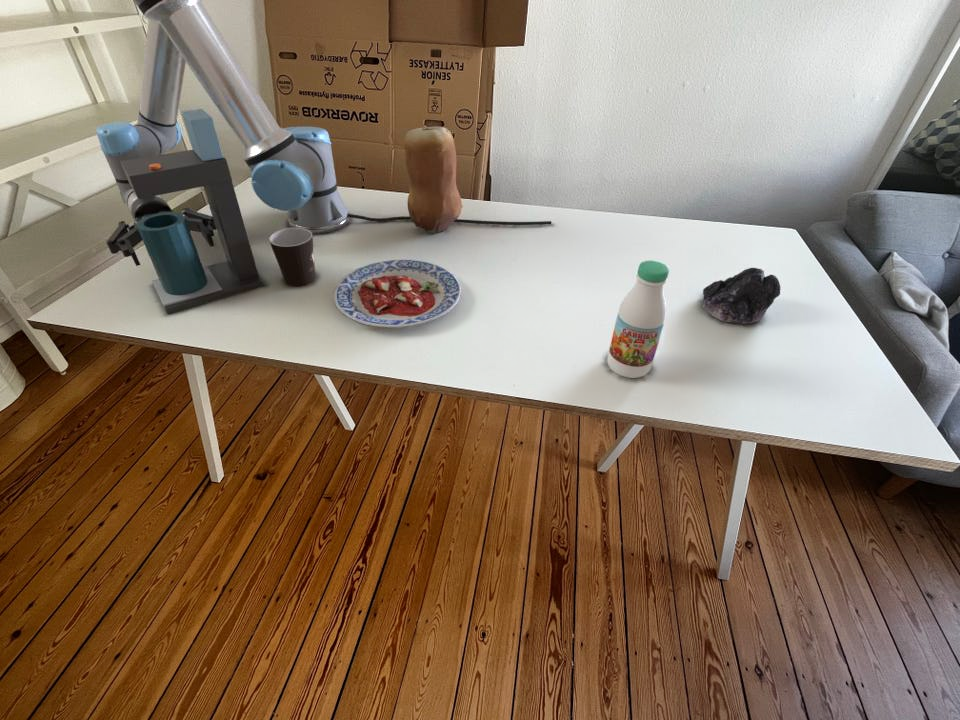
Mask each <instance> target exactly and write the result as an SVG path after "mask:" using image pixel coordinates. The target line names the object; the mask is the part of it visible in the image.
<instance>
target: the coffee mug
mask: <svg viewBox="0 0 960 720" xmlns="http://www.w3.org/2000/svg"><path fill="white" fill-rule="evenodd" d="M268 242H269V244H270V247H271V249H272V252H273V255H274V257H275V260H276V262H277V265H278V267H279V270H280V273H281V275H282V277H283V278H282V279H283V280H284V282H285V284H286V285H288V286H289V287H293V288H295V287H296V288H299V287H305V286H308V285H310V284H313V282H315V280H316V268H315V267H316V266H315V251H314V236H313V234H312V233H311V231H309V230H307V229H304V228H291V227H287V228H282V229H279V230H277V231H275V232H273V233H272V234H271V235H270V236H269V237H268Z"/></svg>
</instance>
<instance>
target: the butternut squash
mask: <svg viewBox="0 0 960 720" xmlns="http://www.w3.org/2000/svg"><path fill="white" fill-rule="evenodd" d="M454 140H455V139H454V137H453V135H452V133H451V131H450V130H449V129H447V128H446V127H444V126H438V125H437V126H436V125H435V126H427V127H415V128H413V129H410V130H408V132H406V134H405V136H404V145H403V146H404V154H405V155H404V156H405V166H406V171H407V174H408V177H409V180H410V182H409V183H410V187H409V191H408V192H409V193H408V196H407V201H406V202H407V212H408V216H410V218H411V219H412V220H411V221H412V223H414V225H415V227H416V228H419V229H422V230H423V231H425V232H426V233H432V234H433V233H434V234H436V233H443V232H445V231H446V230H447V229H448V228H449V227H450V226H451V225H452V224H453V223H455V222H454V221H455V220H456V219H459V217H460V215H461V213H462V209H463V208H464V207H463V204H462V203H463V202H462V197H461V195H460V192H459V190H458V187H457V152H456V146H455V141H454Z"/></svg>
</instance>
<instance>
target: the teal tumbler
mask: <svg viewBox="0 0 960 720" xmlns="http://www.w3.org/2000/svg"><path fill="white" fill-rule="evenodd" d="M175 212H176V211H173V212H164V213H158V214H153V215H150V216H147V217H145V218H143V219H141V220H140V221H139V222H138V223H137V228H138V230H139V233H140V235H141V237H142V243H143V245H144V247H145V250H146V252H147V253H148V256H149V258H150V261H151V263H152V265H153V268H154V271H155V272H156V275H157V277H158V279H159V280H160V282H161V284H162V287H163V289H164V291H165V292H166V293H168V294H171V295H186V294H190V293H194V292H196V291H198V290H200V289H202V288H203V287H204V286H205V285H206V284H207V278H206V275H205V272H204V269H203V267H204V266H203V263H202V261H201V258H200V256H199V252H198V250H197V246H196V244H195V241H194V239H193V236H192V233H191V231H190V230H189V227H188V224H187V221H186V219H185V216H184V215H182V214H180V213H181V212H176V213H175Z"/></svg>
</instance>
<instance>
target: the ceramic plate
mask: <svg viewBox="0 0 960 720" xmlns="http://www.w3.org/2000/svg"><path fill="white" fill-rule="evenodd" d="M461 293H462V288H461V284H460V282H459V280H458V278H457V277H456V276H455V275H454V274H453V273H452V272H451V271H449V270H447V269H446V268H445V267H442V266H440V265H439V264H438V265H437V264H434V263H430V262H427V261H423V260H415V259H390V260H384V261H383V260H382V261H377V262H372V263H370V264H367V265H364V266H361V267H359V268H356V269H355V270H353V271H351V272H349V273H348V274H347V275H345V276H344V277H343V278H342V279H341V280H340V281H339V282H338V284H337V285H336V287H335V289H334V293H333V299H334V304H335V305H336V307H337V309H338V310H339V311H340V312H341V313H342V314H343V315H344V316H346V317H347V318H349V319H350V320H352V321H355V322H357V323H360V324H362V325H367V326H370V327H377V328H387V329H388V328H390V329H391V328H393V329H395V328H408V327H414V326H418V325H423V324H427V323H429V322H432V321H435V320H437V319H439V318H441V317H442V316H444V315H446V314H448V312H450V311H451V310H453V308H454V307H455V306H456V305H457V304H458V302H459V300H460V298H461Z"/></svg>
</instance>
